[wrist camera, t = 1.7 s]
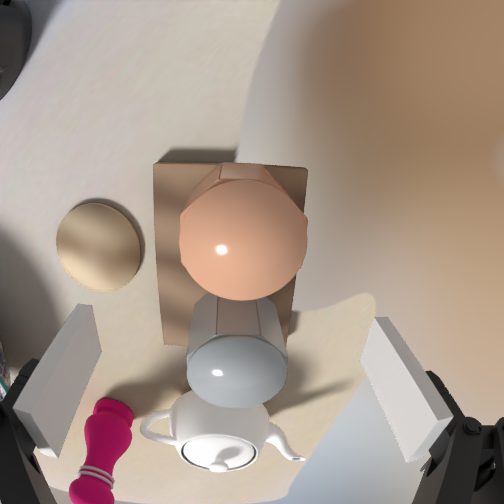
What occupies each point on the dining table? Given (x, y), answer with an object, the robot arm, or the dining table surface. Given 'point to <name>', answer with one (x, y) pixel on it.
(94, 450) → the pepper mill
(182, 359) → the dining table surface
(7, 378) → the bowl
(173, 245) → the board
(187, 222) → the peach faceted canister
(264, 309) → the grey faceted canister
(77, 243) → the coaster
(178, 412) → the teapot
